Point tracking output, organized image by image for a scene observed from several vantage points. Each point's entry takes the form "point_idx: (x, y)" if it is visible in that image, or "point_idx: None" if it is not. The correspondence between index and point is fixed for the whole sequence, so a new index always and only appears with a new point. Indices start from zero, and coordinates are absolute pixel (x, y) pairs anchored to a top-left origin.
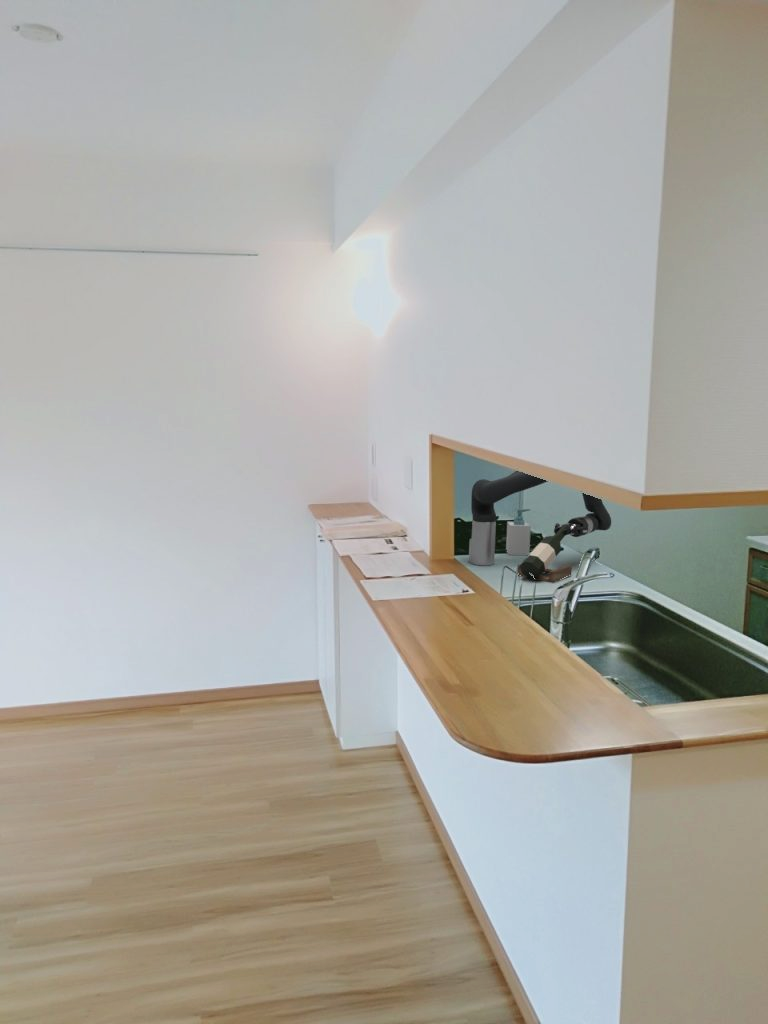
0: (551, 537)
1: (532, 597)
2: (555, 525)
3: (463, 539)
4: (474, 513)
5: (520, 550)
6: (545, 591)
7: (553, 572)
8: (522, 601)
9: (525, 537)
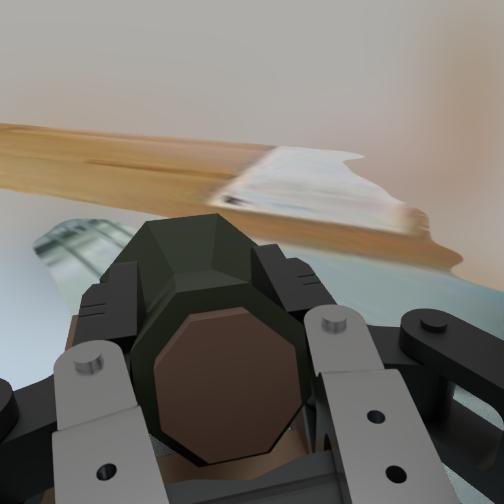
0: (164, 219)
1: (68, 244)
2: (457, 324)
3: None
4: None
5: None
6: (60, 285)
7: (77, 317)
8: (75, 223)
9: None
